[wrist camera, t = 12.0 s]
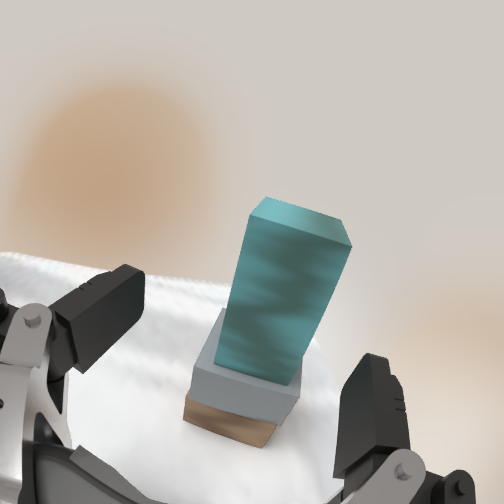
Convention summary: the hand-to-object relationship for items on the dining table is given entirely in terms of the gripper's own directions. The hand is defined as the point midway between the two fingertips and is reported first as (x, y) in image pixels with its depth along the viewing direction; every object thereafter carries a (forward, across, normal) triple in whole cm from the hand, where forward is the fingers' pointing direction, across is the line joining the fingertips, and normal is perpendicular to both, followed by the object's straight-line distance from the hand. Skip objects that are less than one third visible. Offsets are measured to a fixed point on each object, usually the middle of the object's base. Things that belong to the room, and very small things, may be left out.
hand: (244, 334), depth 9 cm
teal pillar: (+8, 0, +8) cm, 11 cm away
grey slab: (+8, 0, +12) cm, 14 cm away
